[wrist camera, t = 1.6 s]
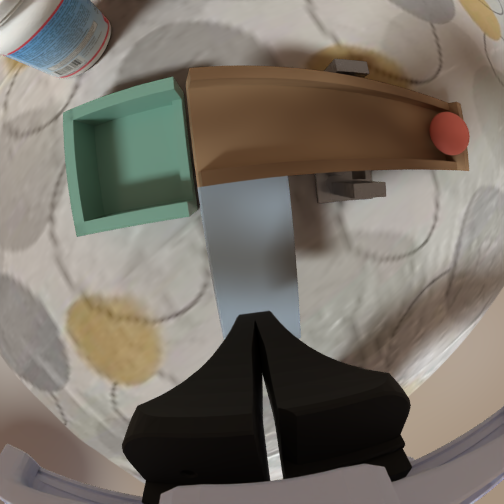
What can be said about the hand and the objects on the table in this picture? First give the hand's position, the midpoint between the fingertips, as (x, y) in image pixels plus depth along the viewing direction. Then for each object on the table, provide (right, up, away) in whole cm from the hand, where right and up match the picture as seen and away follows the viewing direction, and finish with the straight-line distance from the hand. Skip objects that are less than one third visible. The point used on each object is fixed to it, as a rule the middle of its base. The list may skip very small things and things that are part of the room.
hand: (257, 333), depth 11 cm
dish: (-8, +9, +5) cm, 13 cm away
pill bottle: (-14, +19, +3) cm, 24 cm away
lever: (+6, +7, +4) cm, 10 cm away
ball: (+13, +11, +2) cm, 17 cm away
